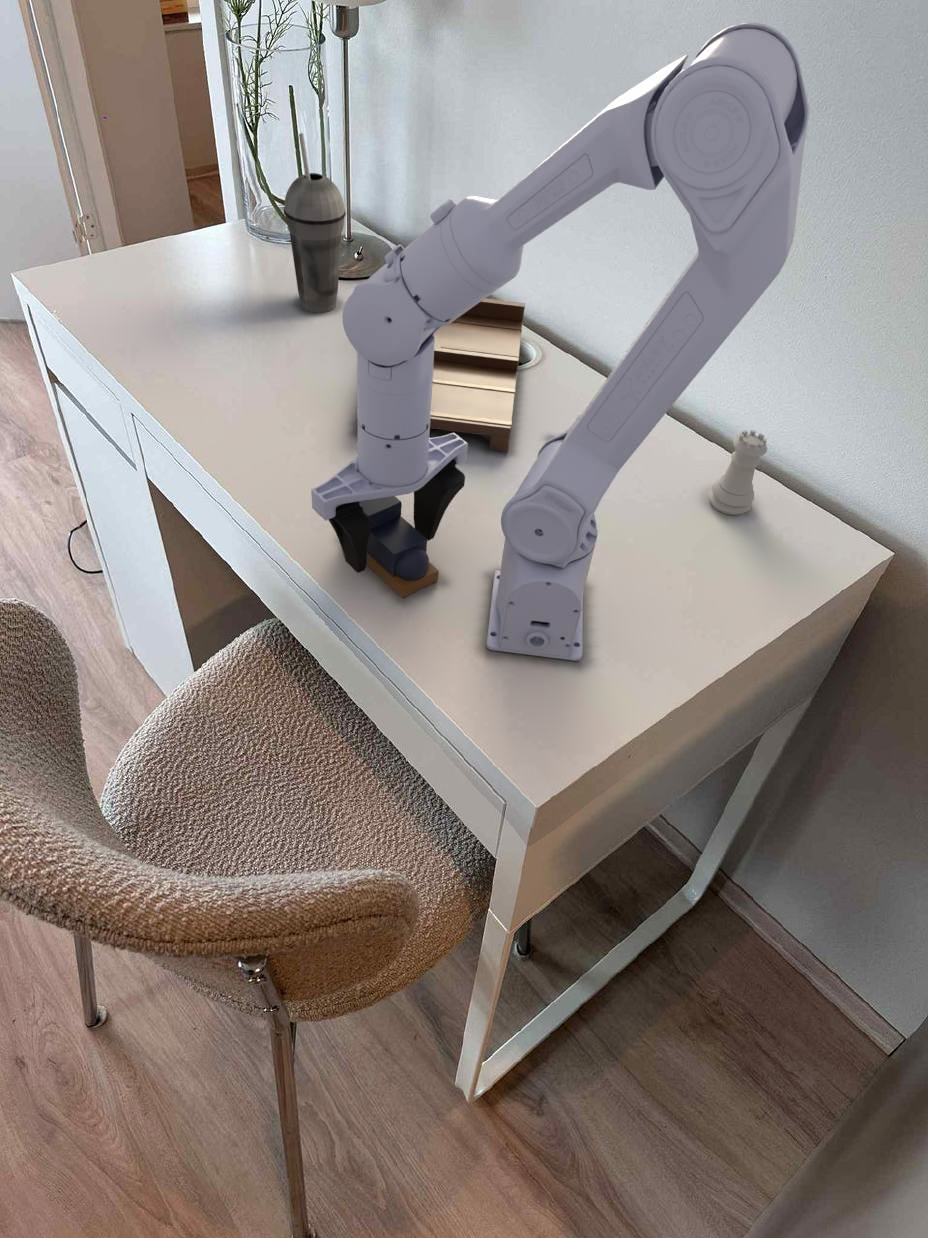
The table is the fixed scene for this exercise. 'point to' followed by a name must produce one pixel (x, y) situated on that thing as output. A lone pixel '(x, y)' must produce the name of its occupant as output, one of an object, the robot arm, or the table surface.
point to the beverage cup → (315, 236)
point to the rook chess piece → (739, 475)
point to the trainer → (397, 548)
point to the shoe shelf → (478, 371)
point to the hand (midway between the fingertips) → (390, 549)
